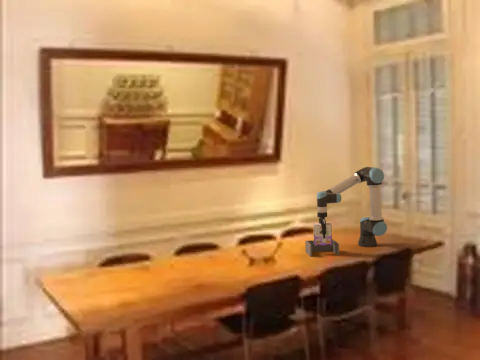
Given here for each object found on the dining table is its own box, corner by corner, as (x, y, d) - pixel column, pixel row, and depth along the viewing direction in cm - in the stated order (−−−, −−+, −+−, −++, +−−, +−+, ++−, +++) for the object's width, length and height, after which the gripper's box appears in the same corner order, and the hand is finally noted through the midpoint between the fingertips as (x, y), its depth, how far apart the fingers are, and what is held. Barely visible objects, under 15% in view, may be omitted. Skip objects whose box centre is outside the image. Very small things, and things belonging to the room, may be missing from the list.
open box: (333, 250, 485) (333, 239, 484) (339, 255, 468) (339, 243, 467) (305, 251, 483) (305, 240, 482) (310, 256, 466) (310, 245, 465)
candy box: (331, 243, 476) (331, 222, 474) (332, 245, 470) (331, 224, 468) (313, 244, 477) (313, 223, 475) (314, 245, 471) (313, 224, 469)
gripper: (314, 210, 480) (315, 239, 482) (320, 214, 461) (321, 244, 463) (323, 209, 481) (324, 238, 483) (330, 213, 461) (330, 243, 464)
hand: (322, 241), depth 473 cm, fingers closed on candy box, 6 cm apart
